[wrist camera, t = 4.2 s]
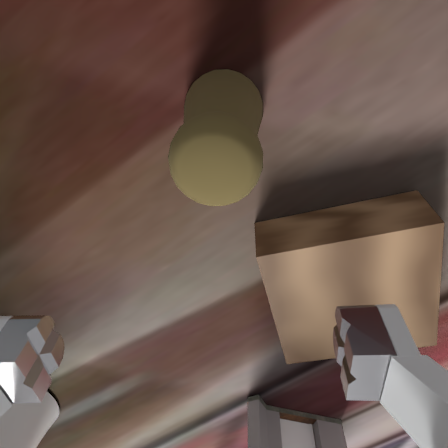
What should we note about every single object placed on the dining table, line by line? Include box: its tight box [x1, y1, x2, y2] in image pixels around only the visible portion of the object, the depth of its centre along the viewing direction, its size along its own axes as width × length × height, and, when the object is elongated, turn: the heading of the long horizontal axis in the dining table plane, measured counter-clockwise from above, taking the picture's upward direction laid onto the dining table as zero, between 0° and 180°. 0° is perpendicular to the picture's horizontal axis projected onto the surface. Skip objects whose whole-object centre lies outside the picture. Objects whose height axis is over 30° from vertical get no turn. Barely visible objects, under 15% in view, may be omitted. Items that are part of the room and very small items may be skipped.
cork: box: [168, 69, 263, 206], centre depth 23 cm, size 6×6×11 cm
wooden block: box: [255, 190, 444, 364], centre depth 34 cm, size 14×14×5 cm
